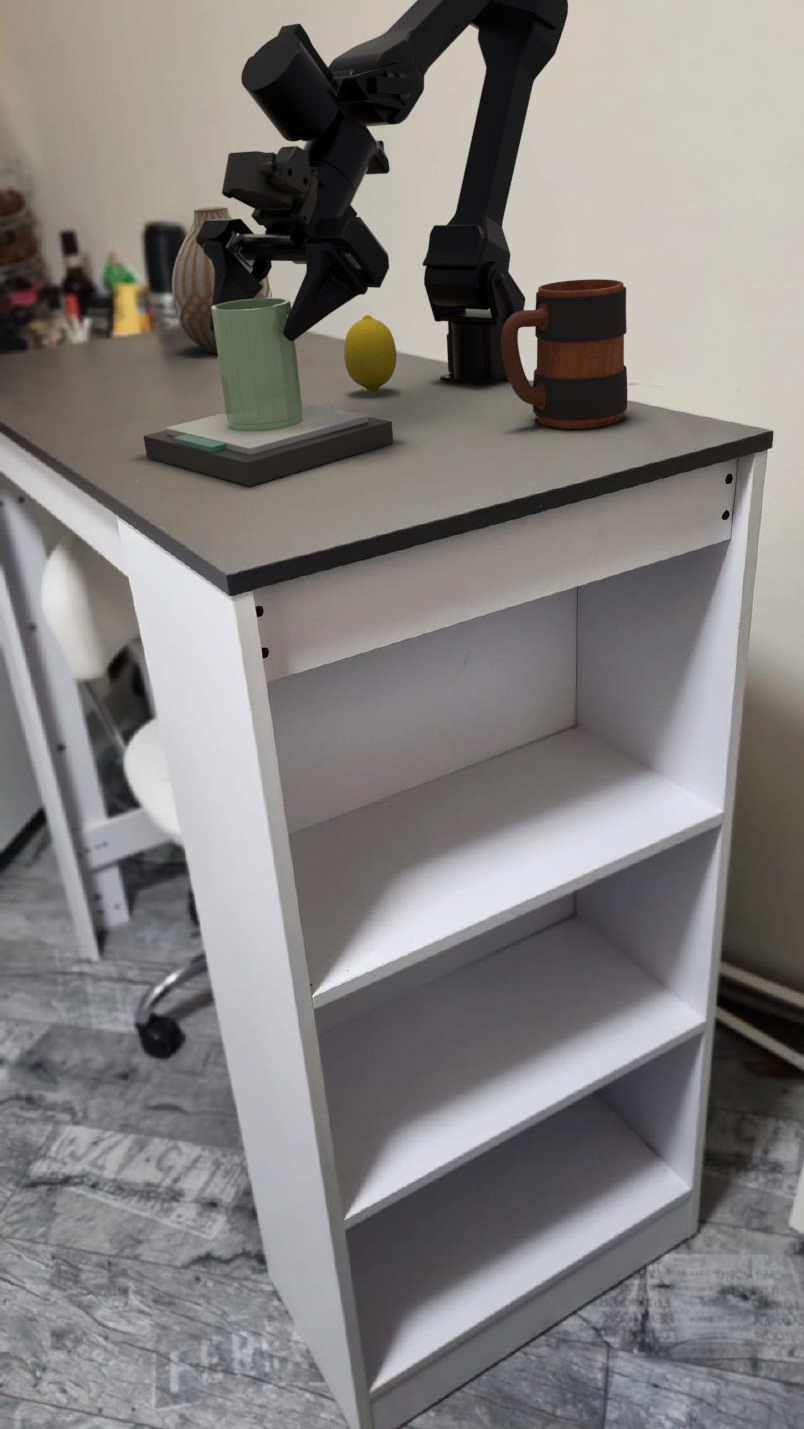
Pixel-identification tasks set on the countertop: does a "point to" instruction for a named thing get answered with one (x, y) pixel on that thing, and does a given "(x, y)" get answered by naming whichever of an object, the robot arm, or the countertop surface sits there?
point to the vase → (199, 283)
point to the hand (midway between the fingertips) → (249, 335)
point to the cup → (257, 364)
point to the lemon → (370, 353)
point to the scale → (267, 444)
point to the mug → (573, 353)
